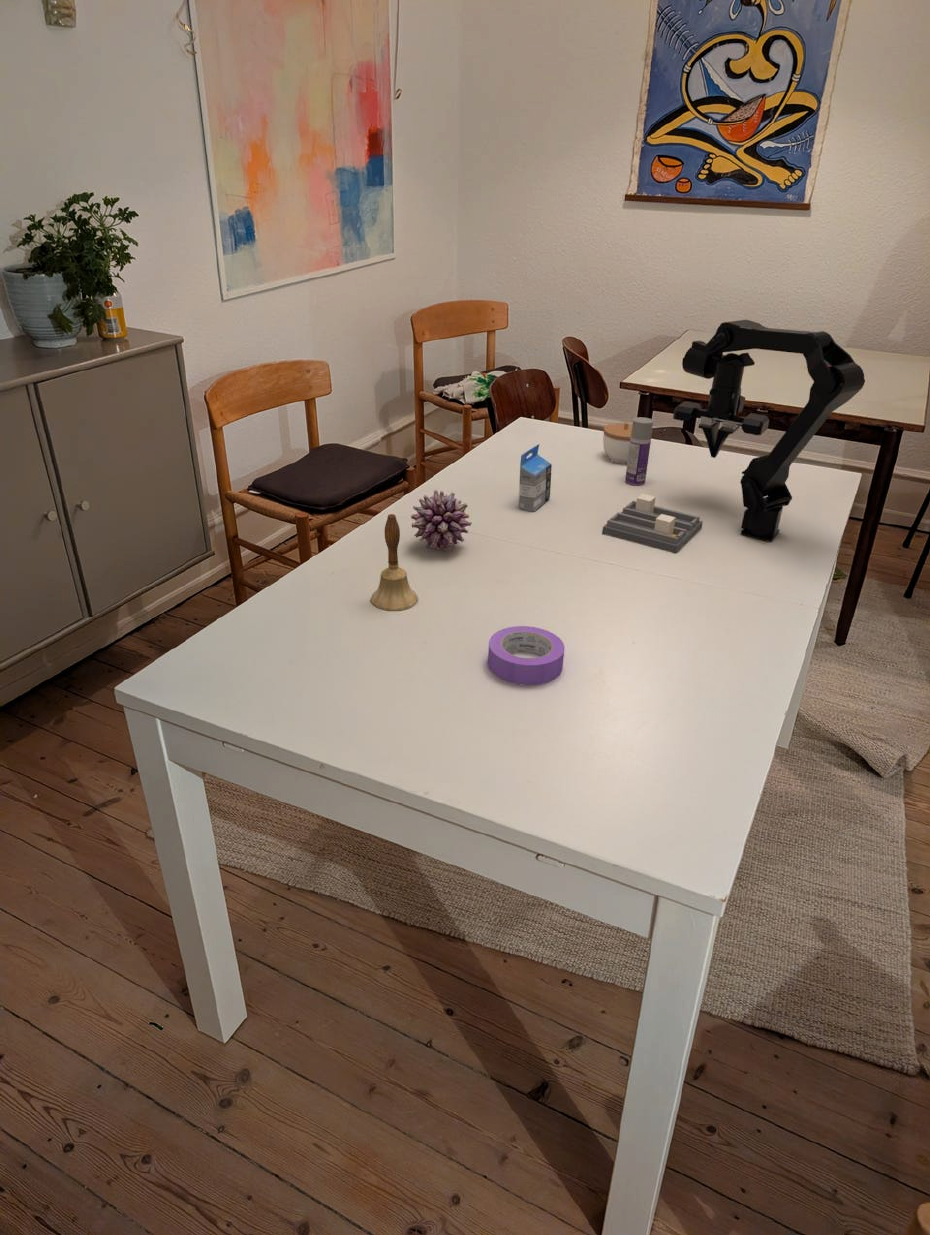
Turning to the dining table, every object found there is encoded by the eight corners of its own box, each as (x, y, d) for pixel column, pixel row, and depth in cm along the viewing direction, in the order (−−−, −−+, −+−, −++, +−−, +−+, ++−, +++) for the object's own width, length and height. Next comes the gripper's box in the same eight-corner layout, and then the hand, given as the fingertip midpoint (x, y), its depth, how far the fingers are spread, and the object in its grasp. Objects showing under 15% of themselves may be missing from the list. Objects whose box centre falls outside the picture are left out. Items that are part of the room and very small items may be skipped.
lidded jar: (592, 455, 222) (596, 419, 217) (627, 450, 226) (632, 414, 221) (615, 469, 213) (620, 431, 209) (651, 463, 218) (657, 427, 213)
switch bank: (701, 528, 184) (703, 516, 182) (676, 553, 173) (678, 540, 171) (630, 510, 191) (632, 498, 190) (602, 533, 180) (603, 521, 179)
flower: (464, 564, 166) (466, 506, 160) (403, 557, 168) (402, 499, 162) (476, 539, 176) (478, 484, 170) (418, 533, 177) (418, 477, 172)
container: (644, 479, 208) (652, 417, 200) (645, 486, 204) (654, 423, 196) (624, 478, 208) (632, 416, 201) (625, 485, 204) (633, 422, 197)
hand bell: (375, 613, 149) (373, 527, 141) (366, 591, 155) (364, 507, 148) (422, 608, 151) (423, 523, 143) (412, 586, 158) (412, 504, 150)
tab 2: (673, 533, 177) (675, 517, 175) (667, 538, 175) (670, 522, 173) (659, 529, 178) (661, 513, 176) (653, 534, 176) (655, 518, 174)
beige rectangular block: (653, 512, 186) (655, 496, 184) (648, 516, 184) (650, 501, 182) (640, 509, 187) (642, 493, 186) (634, 513, 185) (636, 498, 184)
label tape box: (533, 512, 188) (537, 458, 182) (516, 508, 190) (520, 454, 184) (550, 499, 195) (554, 446, 189) (533, 496, 197) (537, 443, 191)
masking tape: (517, 637, 143) (518, 617, 142) (577, 663, 137) (579, 642, 135) (472, 666, 135) (473, 645, 134) (533, 695, 129) (535, 674, 127)
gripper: (782, 383, 181) (767, 455, 189) (696, 369, 189) (685, 439, 197) (767, 395, 173) (752, 470, 180) (677, 379, 181) (667, 452, 189)
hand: (713, 457), depth 187 cm, fingers closed
